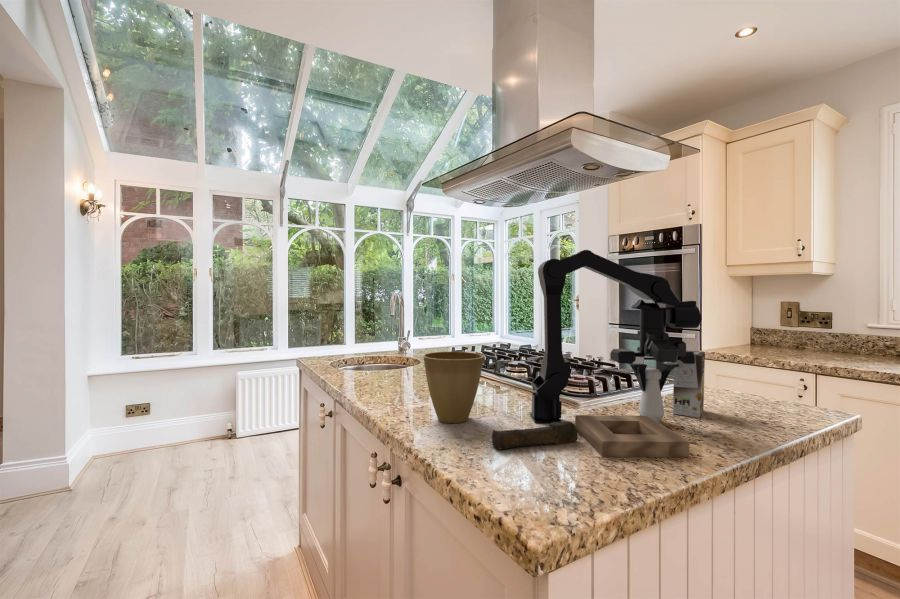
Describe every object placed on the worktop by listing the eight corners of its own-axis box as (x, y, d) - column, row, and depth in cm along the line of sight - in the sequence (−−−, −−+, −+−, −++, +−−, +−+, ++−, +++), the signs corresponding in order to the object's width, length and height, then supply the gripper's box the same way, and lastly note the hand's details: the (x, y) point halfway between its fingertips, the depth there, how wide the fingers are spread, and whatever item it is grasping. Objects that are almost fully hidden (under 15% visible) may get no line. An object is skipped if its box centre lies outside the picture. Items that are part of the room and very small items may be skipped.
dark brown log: (496, 454, 83) (497, 430, 83) (490, 446, 87) (491, 424, 87) (583, 447, 87) (584, 425, 87) (573, 440, 91) (574, 419, 91)
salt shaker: (658, 418, 107) (659, 367, 107) (668, 425, 101) (669, 371, 101) (634, 417, 108) (635, 366, 107) (642, 424, 102) (643, 370, 102)
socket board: (602, 456, 82) (602, 441, 82) (575, 427, 99) (575, 415, 99) (689, 457, 82) (689, 441, 82) (647, 428, 99) (647, 415, 99)
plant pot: (493, 424, 101) (494, 357, 100) (434, 431, 95) (435, 361, 95) (468, 408, 115) (468, 349, 114) (415, 413, 109) (415, 352, 109)
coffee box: (700, 418, 107) (701, 355, 107) (672, 414, 111) (673, 353, 110) (704, 410, 114) (705, 351, 114) (677, 406, 118) (678, 349, 118)
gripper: (629, 330, 96) (627, 399, 96) (710, 331, 96) (709, 399, 96) (610, 326, 107) (608, 387, 107) (683, 327, 107) (681, 388, 107)
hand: (651, 390), depth 104 cm, fingers closed on salt shaker, 4 cm apart
